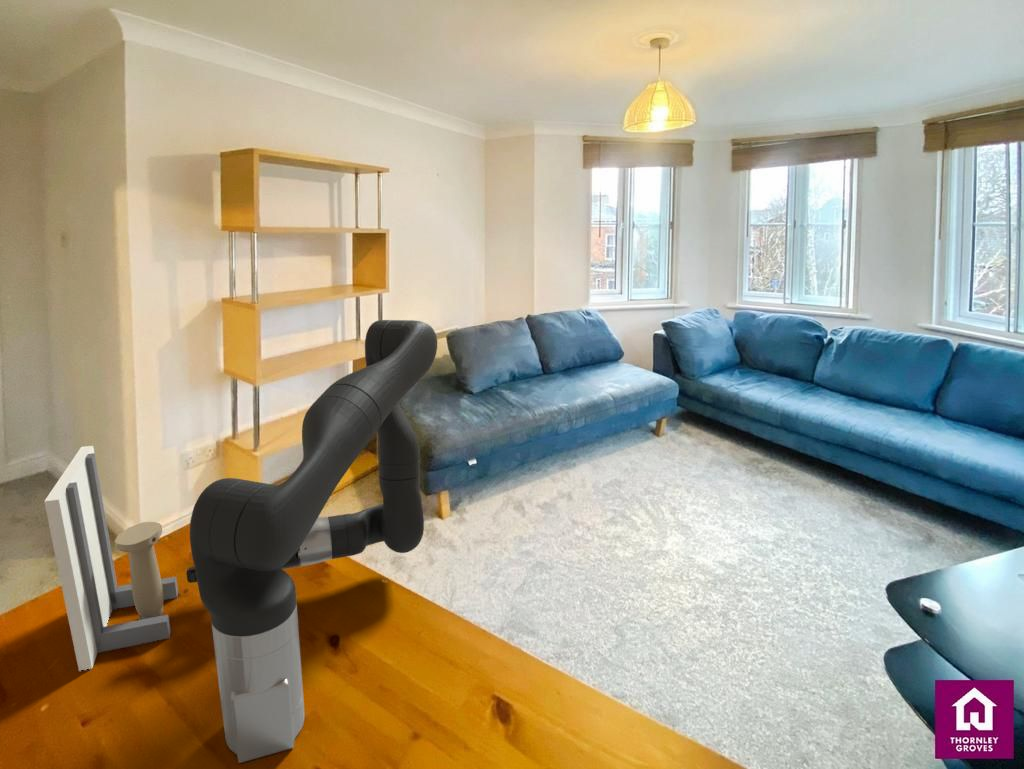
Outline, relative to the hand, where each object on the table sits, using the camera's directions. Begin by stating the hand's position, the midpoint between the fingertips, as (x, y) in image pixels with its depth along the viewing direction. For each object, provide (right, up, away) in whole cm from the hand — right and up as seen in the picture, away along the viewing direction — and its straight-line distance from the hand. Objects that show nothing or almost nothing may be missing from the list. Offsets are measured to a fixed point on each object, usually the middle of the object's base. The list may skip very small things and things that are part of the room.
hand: (190, 560), depth 92 cm
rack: (-8, -9, -1) cm, 12 cm away
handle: (-6, -9, 0) cm, 11 cm away
